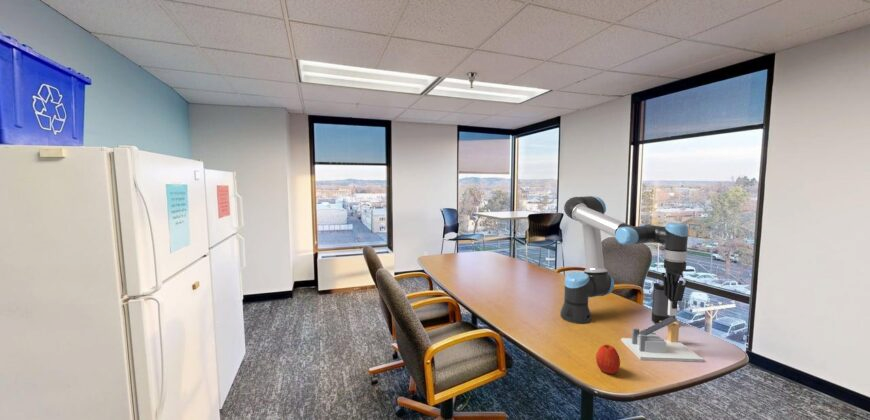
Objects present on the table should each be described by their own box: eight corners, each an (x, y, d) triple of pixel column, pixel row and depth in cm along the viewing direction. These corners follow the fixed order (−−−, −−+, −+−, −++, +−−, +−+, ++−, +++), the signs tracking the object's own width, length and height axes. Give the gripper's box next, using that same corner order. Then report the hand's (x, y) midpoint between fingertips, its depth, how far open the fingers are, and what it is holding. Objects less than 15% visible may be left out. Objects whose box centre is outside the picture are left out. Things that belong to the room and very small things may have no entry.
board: (640, 359, 132) (641, 341, 131) (621, 340, 148) (621, 323, 147) (702, 362, 130) (704, 343, 130) (676, 342, 146) (677, 325, 145)
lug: (662, 341, 144) (663, 323, 143) (658, 338, 147) (659, 320, 146) (678, 342, 144) (679, 324, 143) (673, 338, 147) (674, 321, 146)
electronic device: (671, 322, 167) (674, 284, 165) (675, 327, 161) (678, 287, 159) (650, 319, 170) (652, 282, 168) (654, 324, 164) (656, 286, 162)
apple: (596, 375, 122) (597, 347, 121) (594, 363, 130) (595, 337, 129) (621, 379, 119) (622, 351, 118) (617, 367, 127) (618, 341, 126)
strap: (641, 339, 137) (640, 337, 137) (636, 334, 141) (634, 332, 141) (678, 321, 135) (677, 319, 135) (672, 317, 140) (670, 314, 140)
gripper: (695, 264, 128) (692, 321, 130) (674, 256, 141) (671, 309, 143) (675, 264, 129) (672, 321, 131) (656, 256, 142) (653, 308, 144)
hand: (672, 314), depth 137 cm, fingers closed
